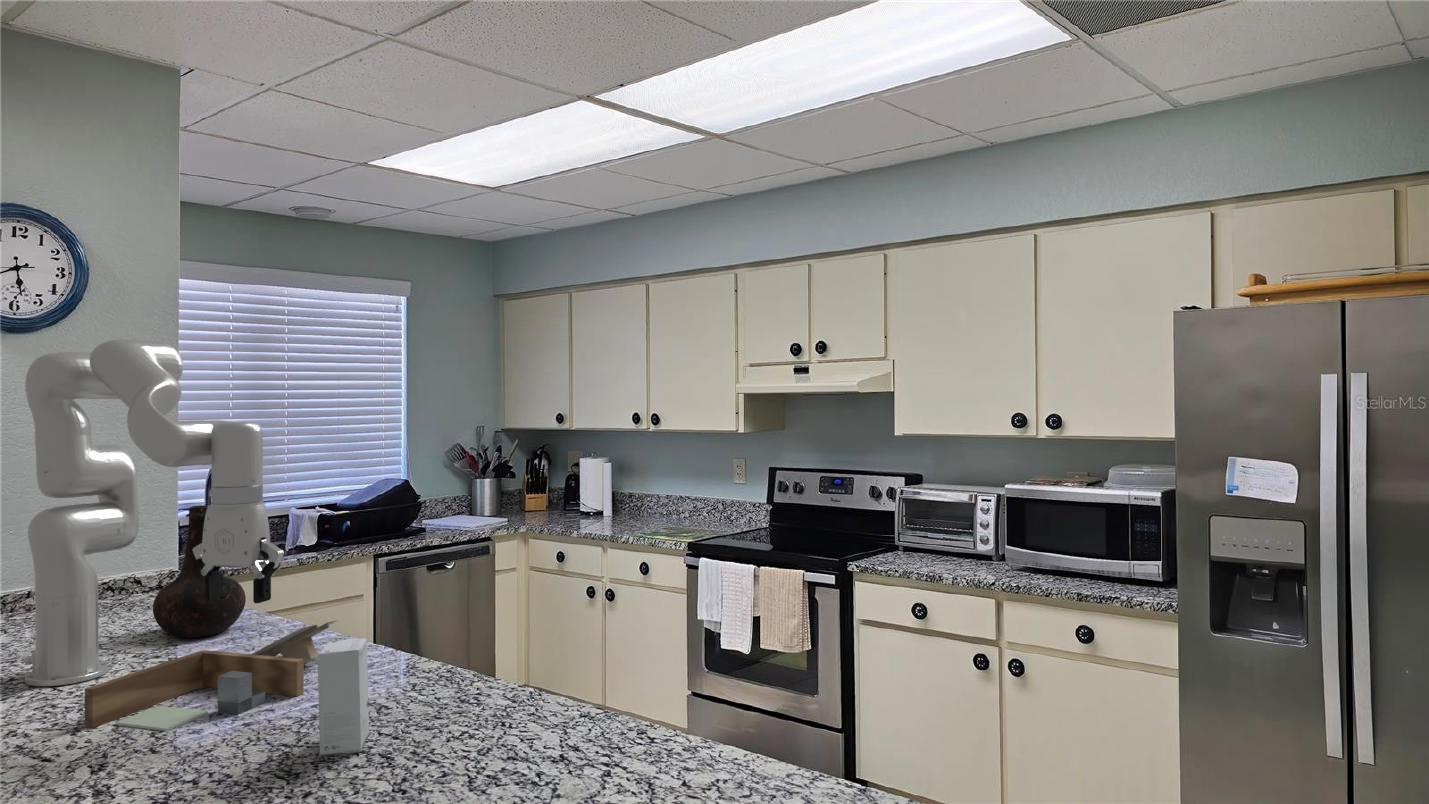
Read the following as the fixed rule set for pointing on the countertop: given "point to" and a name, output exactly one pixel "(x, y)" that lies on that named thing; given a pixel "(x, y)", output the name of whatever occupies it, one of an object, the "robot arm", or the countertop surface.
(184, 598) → the glass bottle
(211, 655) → the wall
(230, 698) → the metal block
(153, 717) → the pad
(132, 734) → the countertop surface
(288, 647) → the grey angled piece
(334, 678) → the skincare box
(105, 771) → the countertop surface
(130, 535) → the robot arm
